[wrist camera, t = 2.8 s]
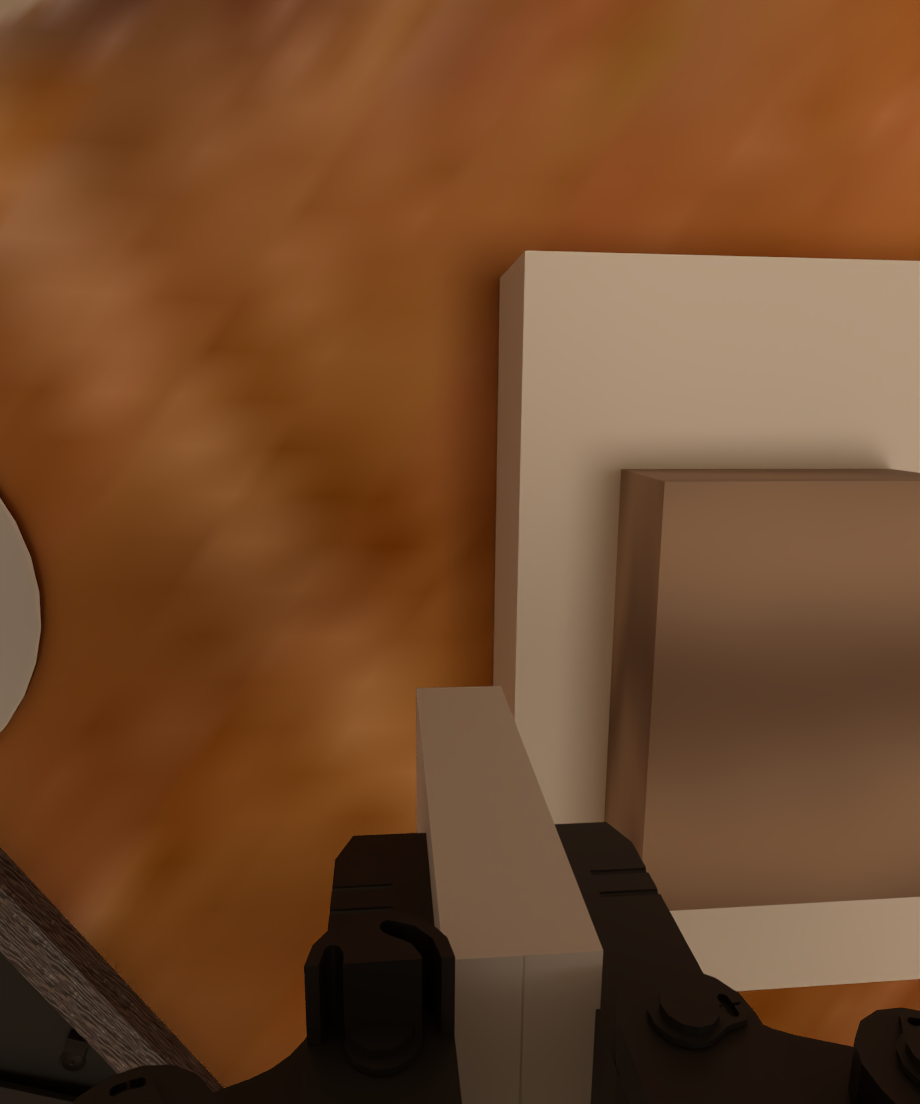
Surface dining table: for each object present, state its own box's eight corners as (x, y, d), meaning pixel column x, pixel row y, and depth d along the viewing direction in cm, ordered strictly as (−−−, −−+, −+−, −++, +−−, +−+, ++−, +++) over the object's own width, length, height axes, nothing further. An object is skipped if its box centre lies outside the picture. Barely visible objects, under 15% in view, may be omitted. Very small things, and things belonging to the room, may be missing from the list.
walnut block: (848, 828, 21) (922, 896, 18) (603, 840, 21) (639, 912, 18) (890, 469, 19) (980, 480, 16) (620, 469, 19) (664, 481, 16)
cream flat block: (995, 884, 27) (1098, 966, 23) (489, 912, 25) (508, 1006, 21) (1089, 291, 23) (1232, 269, 19) (499, 278, 21) (525, 250, 18)
